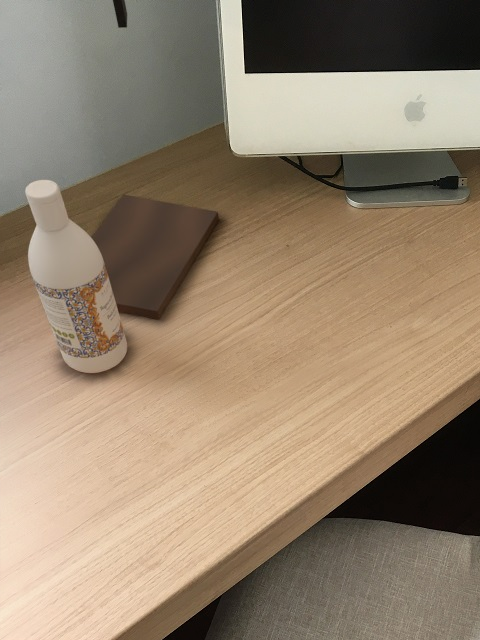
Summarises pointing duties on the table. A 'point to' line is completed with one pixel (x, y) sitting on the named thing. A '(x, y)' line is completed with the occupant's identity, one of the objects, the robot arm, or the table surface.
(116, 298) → the walnut board
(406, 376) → the table surface
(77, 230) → the bath foam
